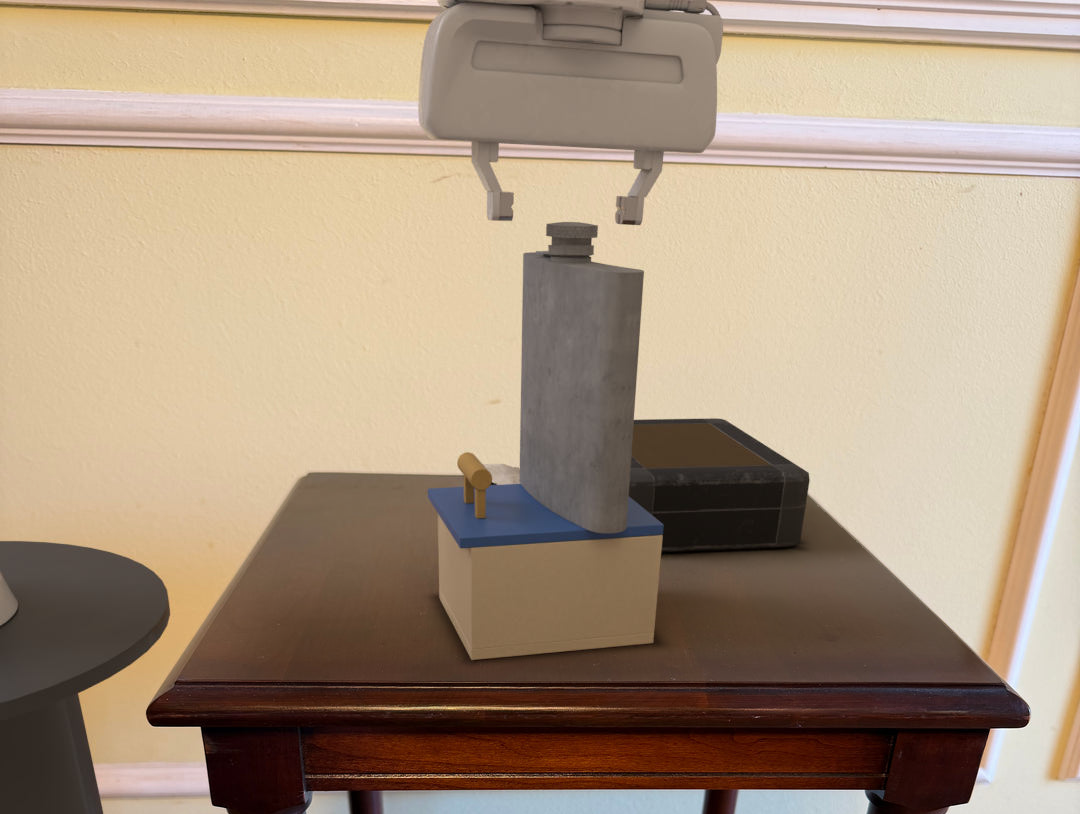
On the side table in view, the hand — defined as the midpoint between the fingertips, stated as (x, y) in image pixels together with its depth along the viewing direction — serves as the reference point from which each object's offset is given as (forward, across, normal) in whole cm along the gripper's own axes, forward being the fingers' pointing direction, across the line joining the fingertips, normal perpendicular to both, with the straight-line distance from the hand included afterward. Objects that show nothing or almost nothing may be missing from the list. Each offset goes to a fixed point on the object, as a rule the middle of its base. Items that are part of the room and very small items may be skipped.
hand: (565, 222), depth 72 cm
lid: (+21, +1, +1) cm, 21 cm away
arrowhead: (+30, -6, -40) cm, 50 cm away
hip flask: (+20, -1, +1) cm, 20 cm away
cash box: (+30, -21, -24) cm, 44 cm away
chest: (+30, +1, +1) cm, 30 cm away
